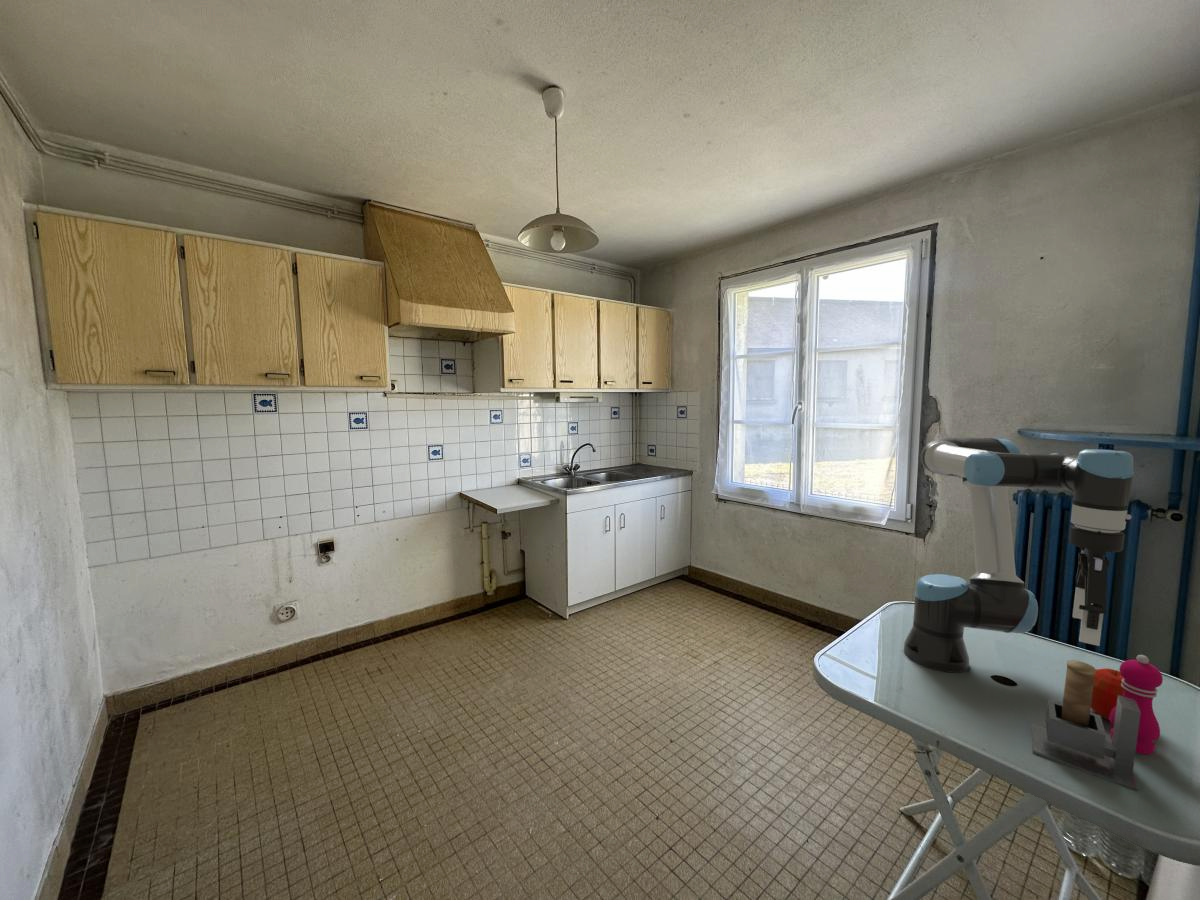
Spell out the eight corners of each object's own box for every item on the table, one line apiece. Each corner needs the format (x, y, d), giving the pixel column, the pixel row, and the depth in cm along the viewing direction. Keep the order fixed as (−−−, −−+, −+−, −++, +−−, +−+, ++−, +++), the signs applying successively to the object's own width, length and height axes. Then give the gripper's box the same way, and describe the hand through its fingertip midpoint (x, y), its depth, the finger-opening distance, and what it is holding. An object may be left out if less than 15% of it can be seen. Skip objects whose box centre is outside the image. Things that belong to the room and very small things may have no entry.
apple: (1072, 698, 117) (1077, 654, 116) (1129, 711, 113) (1135, 664, 112) (1090, 723, 109) (1096, 675, 107) (1153, 737, 104) (1160, 687, 103)
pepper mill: (1097, 733, 105) (1107, 647, 103) (1126, 731, 106) (1137, 645, 104) (1136, 757, 98) (1148, 665, 96) (1168, 755, 99) (1180, 664, 96)
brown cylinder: (1060, 735, 99) (1068, 666, 97) (1058, 725, 102) (1066, 658, 100) (1088, 744, 96) (1096, 673, 94) (1085, 733, 99) (1094, 665, 98)
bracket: (1033, 753, 99) (1040, 689, 98) (1031, 726, 107) (1037, 667, 106) (1136, 790, 90) (1146, 721, 88) (1126, 757, 98) (1134, 693, 96)
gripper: (1137, 546, 83) (1122, 662, 85) (1114, 519, 101) (1103, 614, 104) (1076, 537, 87) (1064, 647, 90) (1065, 513, 106) (1055, 605, 108)
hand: (1085, 630), depth 97 cm, fingers open, 13 cm apart
